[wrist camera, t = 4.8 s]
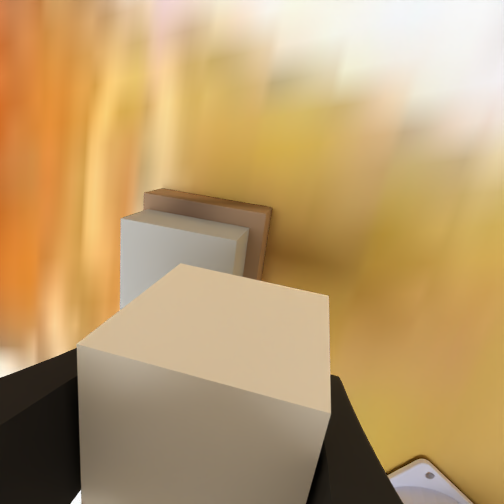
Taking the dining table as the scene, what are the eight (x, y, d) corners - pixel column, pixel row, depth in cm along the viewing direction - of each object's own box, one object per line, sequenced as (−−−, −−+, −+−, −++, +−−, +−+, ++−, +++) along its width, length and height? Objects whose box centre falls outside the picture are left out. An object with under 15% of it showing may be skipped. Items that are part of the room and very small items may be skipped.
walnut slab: (273, 206, 19) (266, 213, 16) (257, 308, 21) (249, 329, 18) (165, 187, 20) (143, 192, 17) (160, 287, 22) (140, 304, 19)
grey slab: (249, 227, 17) (236, 240, 14) (236, 323, 18) (223, 349, 16) (148, 208, 17) (120, 218, 15) (144, 302, 19) (119, 323, 17)
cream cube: (329, 295, 9) (330, 413, 5) (299, 419, 11) (282, 590, 7) (180, 263, 10) (76, 343, 6) (171, 383, 12) (82, 516, 7)
